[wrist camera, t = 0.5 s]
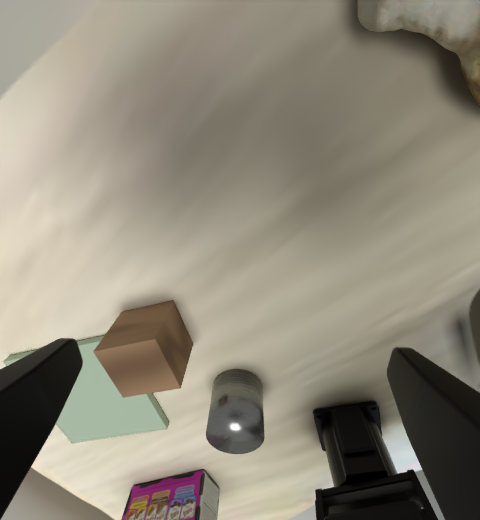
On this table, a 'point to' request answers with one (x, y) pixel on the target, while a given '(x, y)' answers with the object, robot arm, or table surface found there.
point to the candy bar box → (174, 499)
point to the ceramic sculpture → (433, 27)
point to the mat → (102, 403)
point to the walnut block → (146, 350)
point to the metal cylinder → (236, 412)
